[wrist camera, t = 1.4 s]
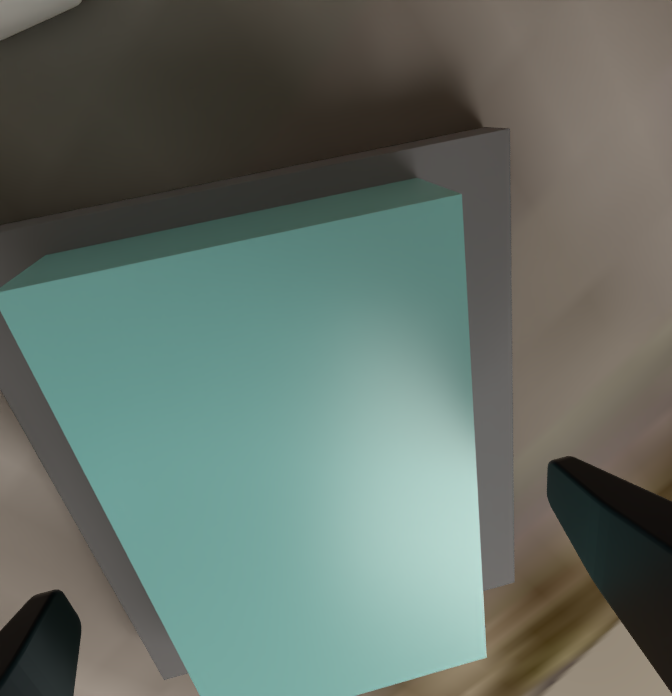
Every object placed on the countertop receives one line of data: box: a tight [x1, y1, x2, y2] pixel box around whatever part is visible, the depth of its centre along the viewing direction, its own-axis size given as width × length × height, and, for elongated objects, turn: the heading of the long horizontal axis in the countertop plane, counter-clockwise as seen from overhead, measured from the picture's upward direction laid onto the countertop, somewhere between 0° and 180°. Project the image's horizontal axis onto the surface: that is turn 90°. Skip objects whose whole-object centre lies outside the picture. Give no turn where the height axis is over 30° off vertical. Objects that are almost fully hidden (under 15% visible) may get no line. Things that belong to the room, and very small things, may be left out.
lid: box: [0, 178, 487, 696], centre depth 10 cm, size 6×11×2 cm, turn 9°
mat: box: [0, 127, 514, 680], centre depth 11 cm, size 10×12×1 cm
